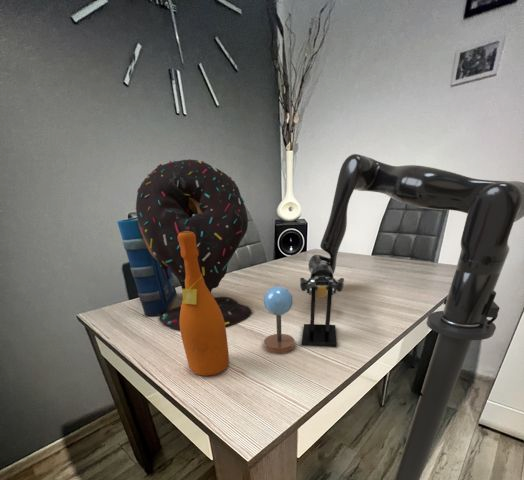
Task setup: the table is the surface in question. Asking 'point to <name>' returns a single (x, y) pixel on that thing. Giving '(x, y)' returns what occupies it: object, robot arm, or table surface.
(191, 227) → the dark brown sprinkled donut
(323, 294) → the yellow switch lever
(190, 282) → the wine bottle
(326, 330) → the stand
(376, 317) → the table surface
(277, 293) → the blue lamp
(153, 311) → the book
